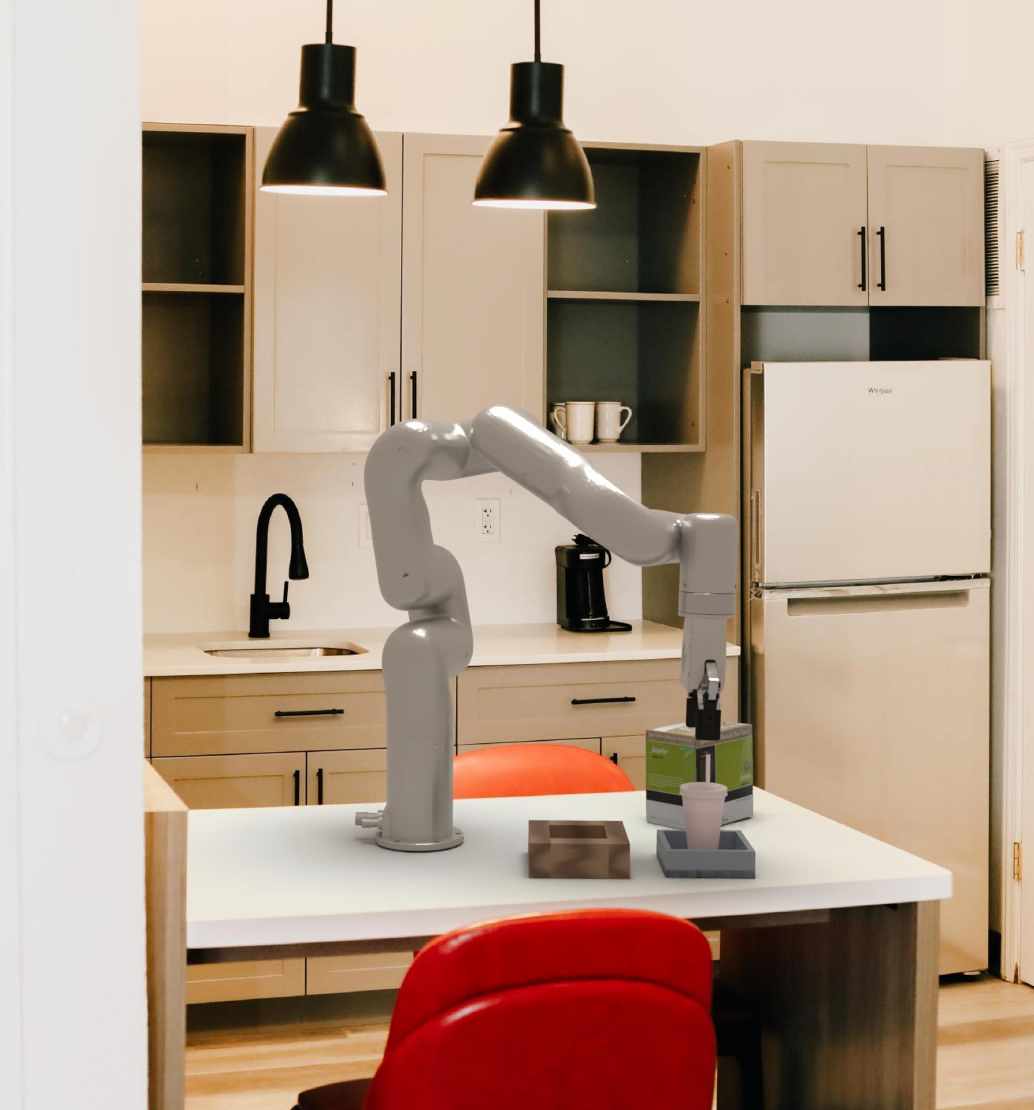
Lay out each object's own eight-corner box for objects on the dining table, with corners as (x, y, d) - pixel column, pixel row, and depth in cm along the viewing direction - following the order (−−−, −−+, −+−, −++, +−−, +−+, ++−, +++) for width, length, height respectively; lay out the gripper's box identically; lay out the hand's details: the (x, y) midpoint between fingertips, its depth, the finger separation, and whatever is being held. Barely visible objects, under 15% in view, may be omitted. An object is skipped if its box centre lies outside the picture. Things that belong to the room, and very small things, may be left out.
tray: (665, 877, 174) (665, 850, 174) (656, 854, 186) (656, 829, 186) (755, 878, 174) (755, 851, 174) (740, 855, 186) (740, 830, 186)
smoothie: (725, 866, 176) (726, 759, 176) (676, 863, 178) (677, 757, 177) (728, 853, 183) (729, 751, 182) (680, 851, 184) (681, 749, 184)
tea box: (702, 807, 216) (703, 716, 216) (754, 818, 209) (756, 723, 209) (643, 822, 205) (644, 726, 205) (696, 834, 198) (697, 734, 198)
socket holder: (529, 877, 174) (529, 843, 174) (528, 852, 187) (528, 820, 187) (629, 878, 174) (630, 844, 174) (621, 853, 187) (622, 820, 187)
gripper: (671, 600, 188) (667, 722, 188) (686, 610, 170) (682, 744, 171) (725, 601, 188) (720, 723, 188) (746, 612, 170) (741, 746, 171)
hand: (702, 733), depth 180 cm, fingers open, 9 cm apart
